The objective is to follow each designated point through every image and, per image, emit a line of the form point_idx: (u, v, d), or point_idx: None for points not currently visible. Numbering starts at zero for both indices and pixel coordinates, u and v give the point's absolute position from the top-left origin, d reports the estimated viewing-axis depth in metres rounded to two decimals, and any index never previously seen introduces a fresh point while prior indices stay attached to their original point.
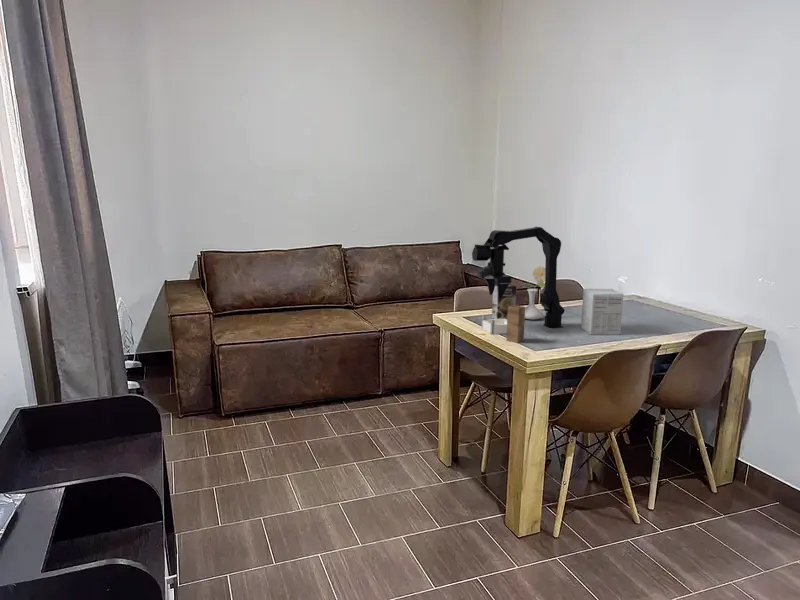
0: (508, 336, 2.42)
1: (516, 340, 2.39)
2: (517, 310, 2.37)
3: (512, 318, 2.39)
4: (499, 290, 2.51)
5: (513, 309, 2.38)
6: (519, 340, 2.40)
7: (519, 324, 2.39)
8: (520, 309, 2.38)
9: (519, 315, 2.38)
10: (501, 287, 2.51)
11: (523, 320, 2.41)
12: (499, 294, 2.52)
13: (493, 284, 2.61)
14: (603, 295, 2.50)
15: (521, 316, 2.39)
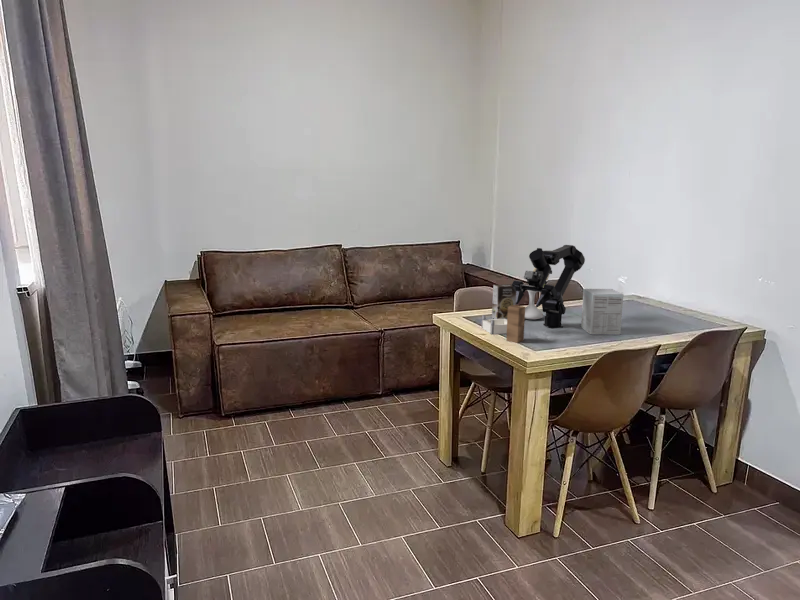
0: (508, 336, 2.42)
1: (516, 340, 2.39)
2: (517, 310, 2.37)
3: (512, 318, 2.39)
4: (542, 298, 2.43)
5: (513, 309, 2.38)
6: (519, 340, 2.40)
7: (519, 324, 2.39)
8: (520, 309, 2.38)
9: (519, 315, 2.38)
10: (543, 297, 2.44)
11: (523, 320, 2.41)
12: (539, 302, 2.43)
13: (520, 296, 2.52)
14: (603, 295, 2.50)
15: (521, 316, 2.39)
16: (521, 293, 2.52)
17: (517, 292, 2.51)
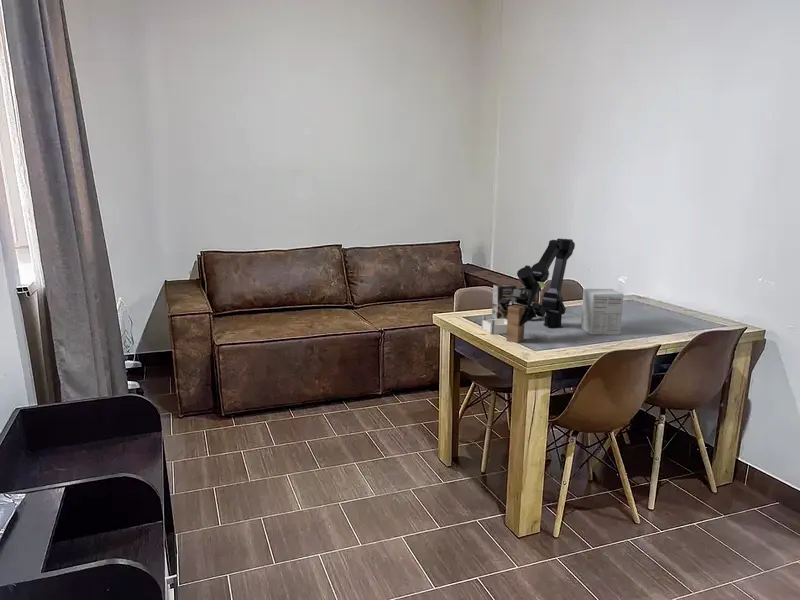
0: (508, 336, 2.42)
1: (516, 340, 2.39)
2: (517, 310, 2.37)
3: (512, 318, 2.39)
4: (525, 317, 2.39)
5: (513, 309, 2.38)
6: (519, 340, 2.40)
7: None
8: (520, 309, 2.37)
9: (519, 315, 2.37)
10: (527, 315, 2.40)
11: None
12: (523, 321, 2.39)
13: None
14: (603, 295, 2.50)
15: (521, 316, 2.39)
16: None
17: None
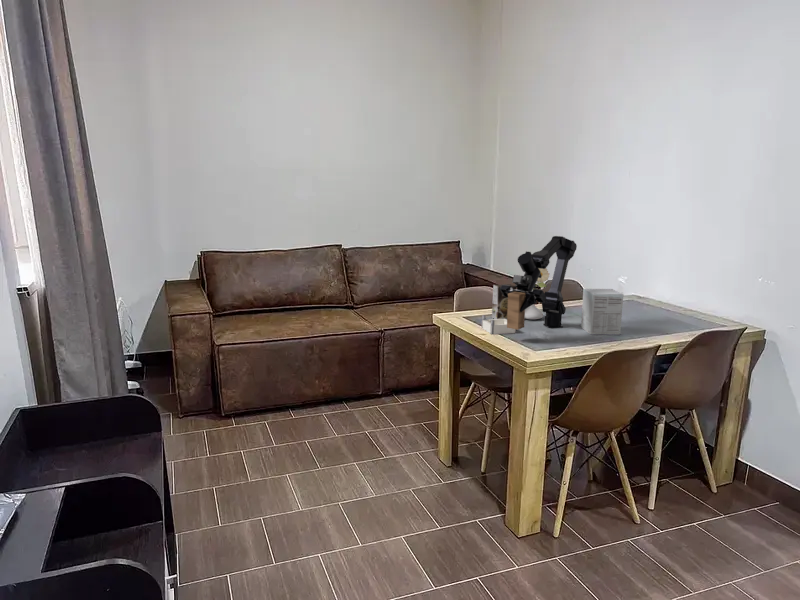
0: (509, 323, 2.40)
1: (517, 327, 2.38)
2: (517, 296, 2.36)
3: (512, 304, 2.38)
4: (526, 303, 2.38)
5: (513, 295, 2.37)
6: (520, 327, 2.39)
7: (519, 311, 2.37)
8: (520, 295, 2.36)
9: (519, 301, 2.36)
10: (528, 301, 2.39)
11: None
12: (523, 307, 2.37)
13: None
14: (603, 295, 2.50)
15: (521, 302, 2.38)
16: None
17: None
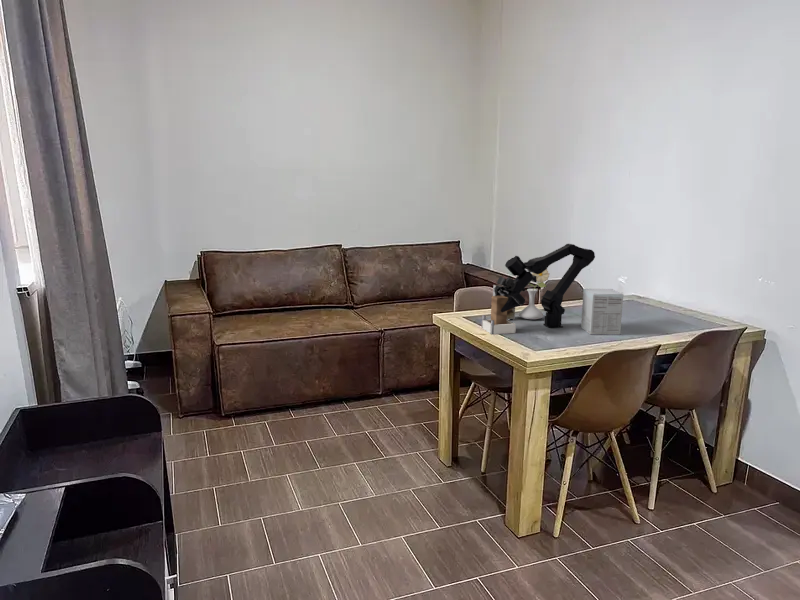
0: None
1: None
2: (496, 299, 2.54)
3: (493, 306, 2.56)
4: (507, 304, 2.51)
5: (494, 298, 2.55)
6: None
7: (498, 313, 2.55)
8: (499, 299, 2.53)
9: (498, 304, 2.54)
10: (510, 303, 2.52)
11: None
12: (504, 308, 2.52)
13: None
14: (603, 295, 2.50)
15: (501, 305, 2.54)
16: None
17: None
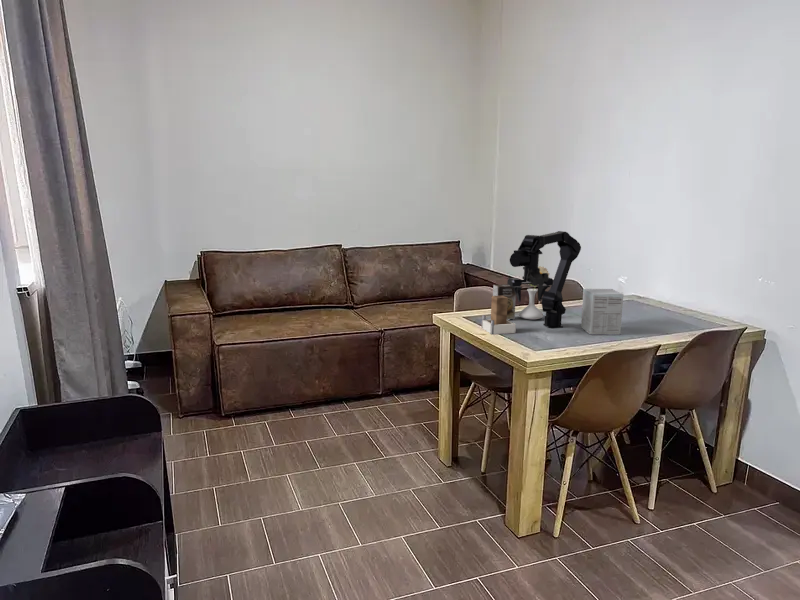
0: None
1: None
2: (496, 299, 2.54)
3: (493, 306, 2.56)
4: None
5: (494, 298, 2.55)
6: None
7: (498, 313, 2.55)
8: (499, 299, 2.53)
9: (498, 304, 2.54)
10: None
11: (505, 310, 2.55)
12: None
13: None
14: (603, 295, 2.50)
15: (501, 305, 2.54)
16: None
17: (519, 291, 2.52)
